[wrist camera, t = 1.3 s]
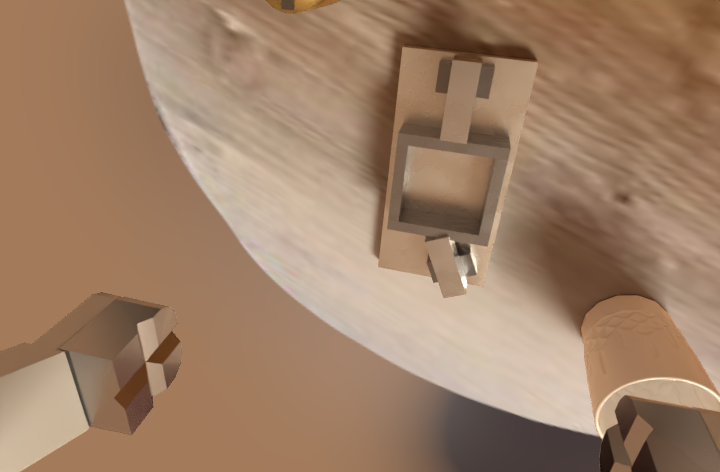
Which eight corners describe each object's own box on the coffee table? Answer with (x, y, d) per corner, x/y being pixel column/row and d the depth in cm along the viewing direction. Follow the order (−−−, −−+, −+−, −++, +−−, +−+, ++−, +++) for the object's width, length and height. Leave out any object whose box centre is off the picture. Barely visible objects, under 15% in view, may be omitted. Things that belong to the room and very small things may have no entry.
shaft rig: (404, 44, 34) (395, 53, 31) (537, 60, 33) (542, 70, 30) (380, 260, 43) (371, 284, 40) (483, 280, 42) (483, 306, 39)
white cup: (556, 343, 43) (573, 436, 35) (602, 274, 39) (634, 360, 31) (644, 375, 43) (682, 477, 34) (700, 308, 39) (759, 405, 30)
